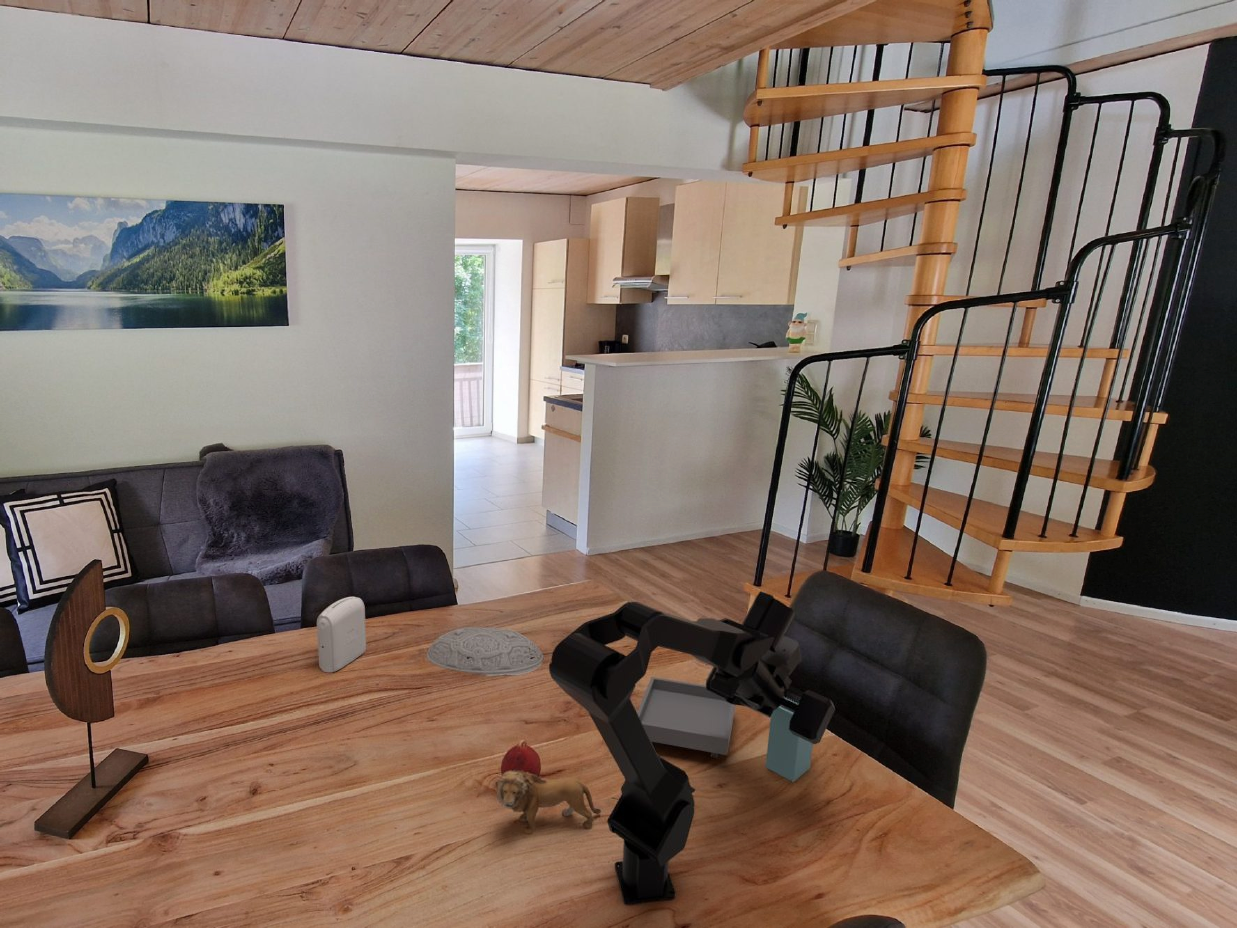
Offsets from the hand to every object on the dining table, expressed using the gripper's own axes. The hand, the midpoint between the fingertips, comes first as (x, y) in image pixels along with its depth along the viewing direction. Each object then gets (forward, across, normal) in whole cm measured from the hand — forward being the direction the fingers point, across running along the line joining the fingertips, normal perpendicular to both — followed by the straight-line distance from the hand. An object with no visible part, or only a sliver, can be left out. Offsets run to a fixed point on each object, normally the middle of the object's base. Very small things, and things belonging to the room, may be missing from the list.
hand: (785, 716), depth 114 cm
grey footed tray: (+6, +17, +8) cm, 20 cm away
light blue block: (+9, 0, +5) cm, 10 cm away
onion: (-15, +24, +29) cm, 41 cm away
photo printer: (-16, +77, +30) cm, 84 cm away
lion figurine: (-17, +16, +31) cm, 39 cm away
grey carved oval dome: (0, +61, +15) cm, 63 cm away
